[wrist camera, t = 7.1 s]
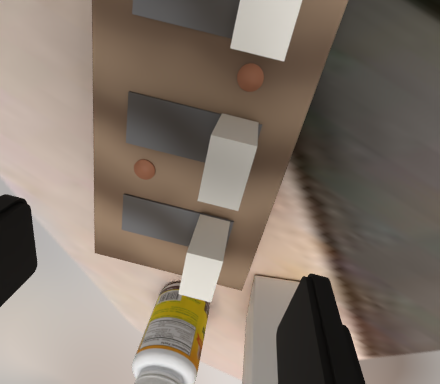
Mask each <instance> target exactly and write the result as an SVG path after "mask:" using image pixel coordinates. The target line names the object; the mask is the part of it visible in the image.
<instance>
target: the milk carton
mask: <svg viewBox="0 0 440 384" xmlns="http://www.w3.org/2000/svg"><path fill="white" fill-rule="evenodd" d="M299 283H300V282H296V281H290V280H283V279H277V278H270V277H263V276H257V275H255V276H254V280H253V286H252V291H251V296H250V302H249V307H248V312H247V317H246V328H245V345H244V362H243V378H242V384H278V372H277V349H276V333H277V328H278V326H279V324H280V322H281V320H282V318H283V316H284V314H285V311H286V309H287V307H288V305H289V303H290V301H291V299H292V297H293V295H294V293H295V291H296V289H297V287H298V285H299Z"/></svg>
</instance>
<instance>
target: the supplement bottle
mask: <svg viewBox="0 0 440 384" xmlns="http://www.w3.org/2000/svg"><path fill="white" fill-rule="evenodd" d="M179 288H180V283H174V284H171V285H168V286H167V287H165V288H164V289H163V290H162V291H161V292H160V294H159V297H158V299H157V302H156V304H155V307H154V309H153V312H152V314H151V317H150V319H149V322H148V325H147V327H146V330H145V332H144V335H143V337H142V340H141V342H140V345H139V348H138V350H137V353H136V356H135V358H134V360H133V364H132V370H133V374H134V376H135V378H136V382H135V384H194V383H195V381H196V377H197V371H198V366H199V361H200V356H201V350H202V345H203V340H204V334H205V329H206V324H207V318H208V313H209V302H207V301H203V300H199V299H195V298H192V297H188V296H184V295H180V294H178V293H179Z"/></svg>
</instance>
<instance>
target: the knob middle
mask: <svg viewBox="0 0 440 384" xmlns="http://www.w3.org/2000/svg"><path fill="white" fill-rule="evenodd" d="M258 124H259V122H255V121H251V120H247V119H243V118H239V117H235V116H231V115H227V114H223V113H222V114H221V116H220V118H219V120H218V122H217V124H216V126H215V128H214V130H213V132H212V134H211V137H210V142H209V147H208V152H207V157H206V162H205V166H204V171H203V176H202V181H201V186H200V191H199V196H198V201H200V202H204V203H208V204H212V205H216V206H220V207H224V208H228V209H232V210H235V211H238V210H239V207H240V203H241V200H242V197H243V193H244V190H245V187H246V183H247V180H248V177H249V173H250V170H251V166H252V163H253V160H254V156H255V153H256V150H257V145H258Z"/></svg>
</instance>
